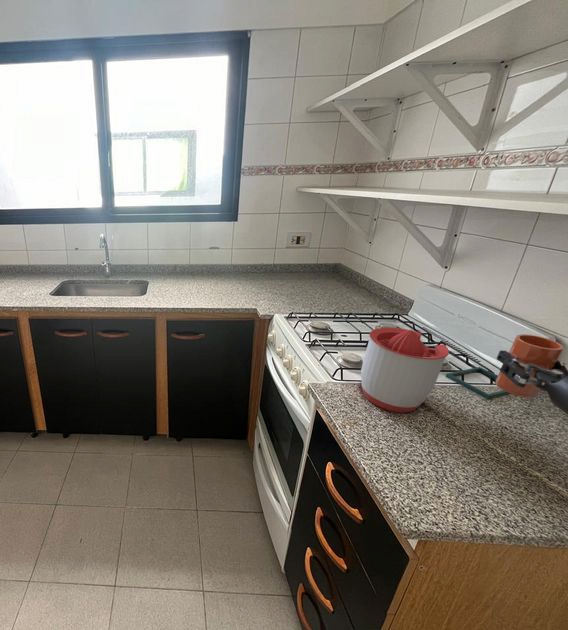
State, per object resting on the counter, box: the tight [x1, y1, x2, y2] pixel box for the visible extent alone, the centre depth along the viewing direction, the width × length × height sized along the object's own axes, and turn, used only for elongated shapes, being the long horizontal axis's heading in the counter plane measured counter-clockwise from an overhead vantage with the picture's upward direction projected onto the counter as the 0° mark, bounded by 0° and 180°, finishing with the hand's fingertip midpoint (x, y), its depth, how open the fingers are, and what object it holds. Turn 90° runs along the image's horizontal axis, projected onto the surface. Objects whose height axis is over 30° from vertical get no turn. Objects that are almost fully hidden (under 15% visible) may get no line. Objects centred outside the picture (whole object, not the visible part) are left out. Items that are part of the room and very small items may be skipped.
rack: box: [445, 366, 512, 400], centre depth 92 cm, size 12×10×2 cm
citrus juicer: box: [360, 327, 450, 414], centre depth 85 cm, size 16×17×20 cm
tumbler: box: [494, 333, 564, 399], centre depth 69 cm, size 6×6×11 cm
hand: (519, 355), depth 71 cm, fingers closed on tumbler, 6 cm apart
